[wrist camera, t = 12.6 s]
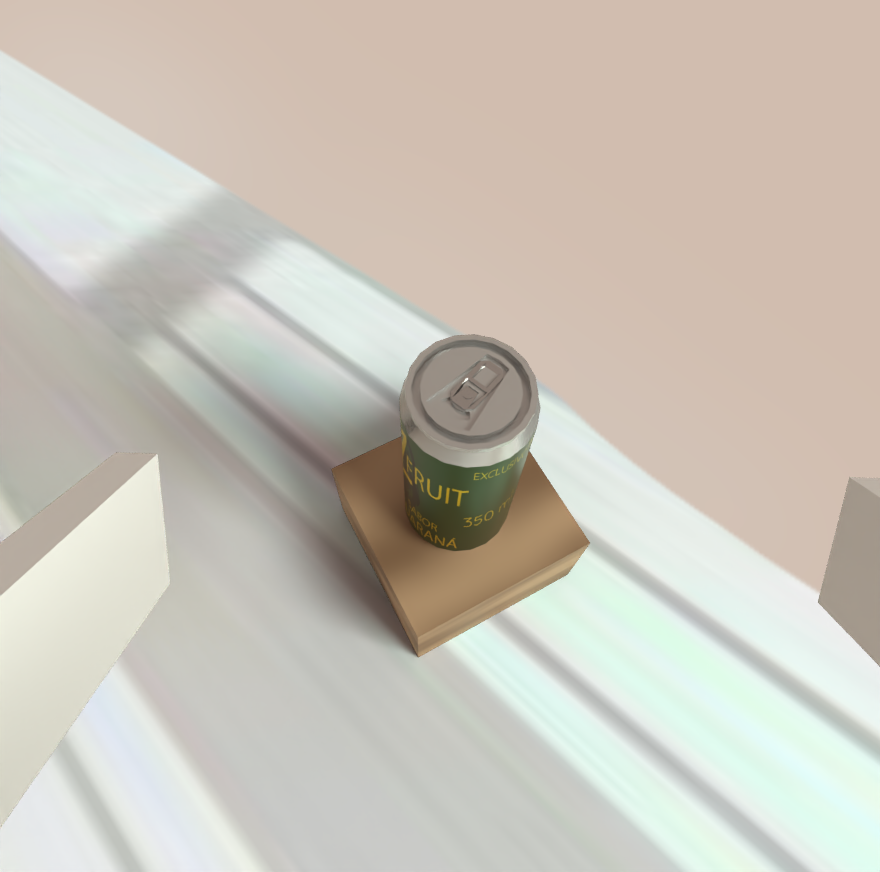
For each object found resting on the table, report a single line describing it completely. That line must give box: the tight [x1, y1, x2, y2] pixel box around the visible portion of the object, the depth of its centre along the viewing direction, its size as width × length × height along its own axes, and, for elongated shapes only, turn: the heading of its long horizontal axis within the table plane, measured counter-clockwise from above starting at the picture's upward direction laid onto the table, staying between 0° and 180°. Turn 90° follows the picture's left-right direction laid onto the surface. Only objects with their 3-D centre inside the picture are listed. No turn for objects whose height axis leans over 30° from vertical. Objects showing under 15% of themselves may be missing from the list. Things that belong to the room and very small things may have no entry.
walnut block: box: [331, 437, 590, 657], centre depth 38 cm, size 10×10×6 cm
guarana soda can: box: [399, 334, 540, 551], centre depth 30 cm, size 5×5×12 cm
